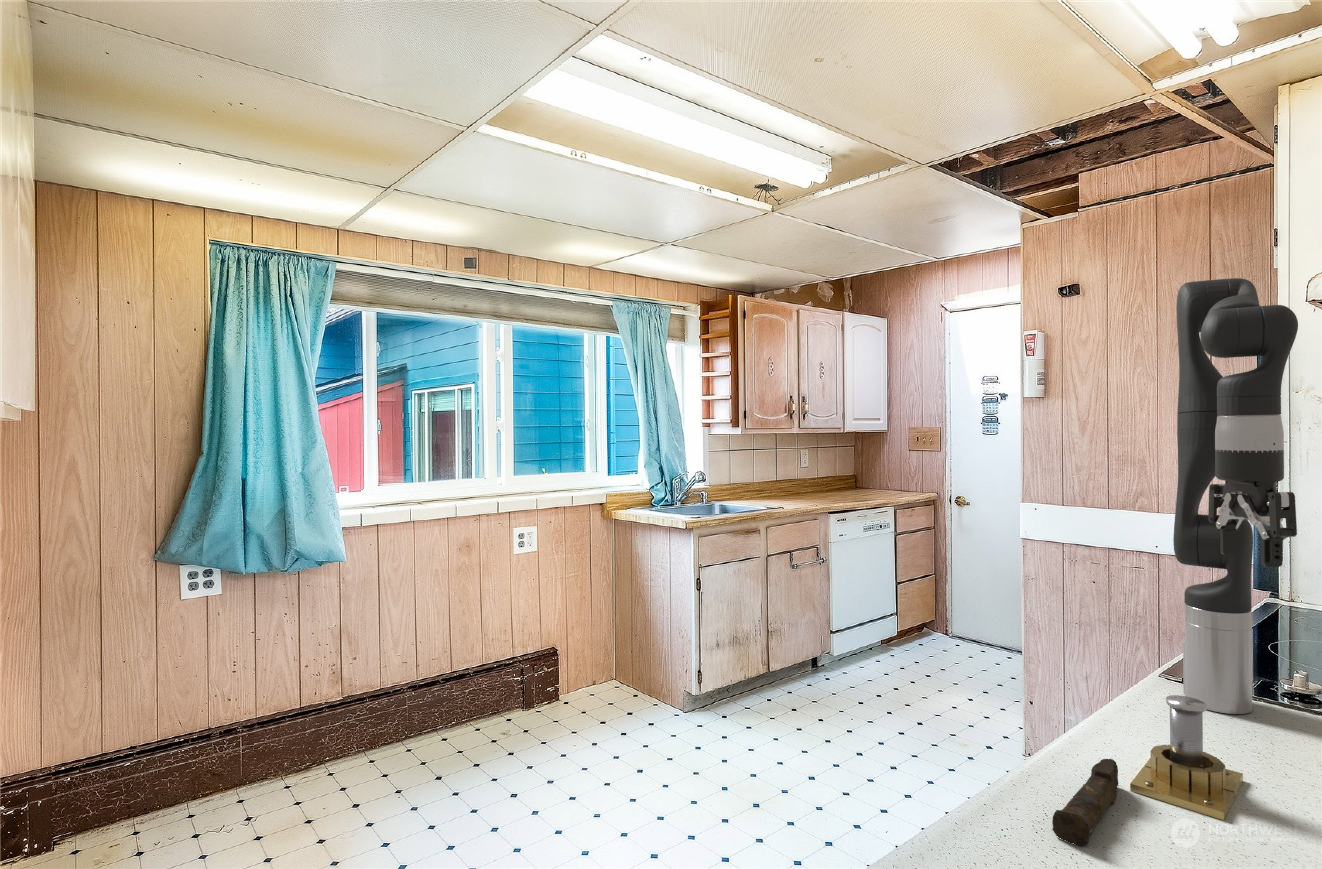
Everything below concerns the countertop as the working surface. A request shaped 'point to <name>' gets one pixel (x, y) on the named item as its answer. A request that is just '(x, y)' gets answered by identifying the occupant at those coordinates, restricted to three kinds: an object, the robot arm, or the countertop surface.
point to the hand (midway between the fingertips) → (1249, 560)
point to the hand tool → (1087, 804)
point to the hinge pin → (1186, 730)
